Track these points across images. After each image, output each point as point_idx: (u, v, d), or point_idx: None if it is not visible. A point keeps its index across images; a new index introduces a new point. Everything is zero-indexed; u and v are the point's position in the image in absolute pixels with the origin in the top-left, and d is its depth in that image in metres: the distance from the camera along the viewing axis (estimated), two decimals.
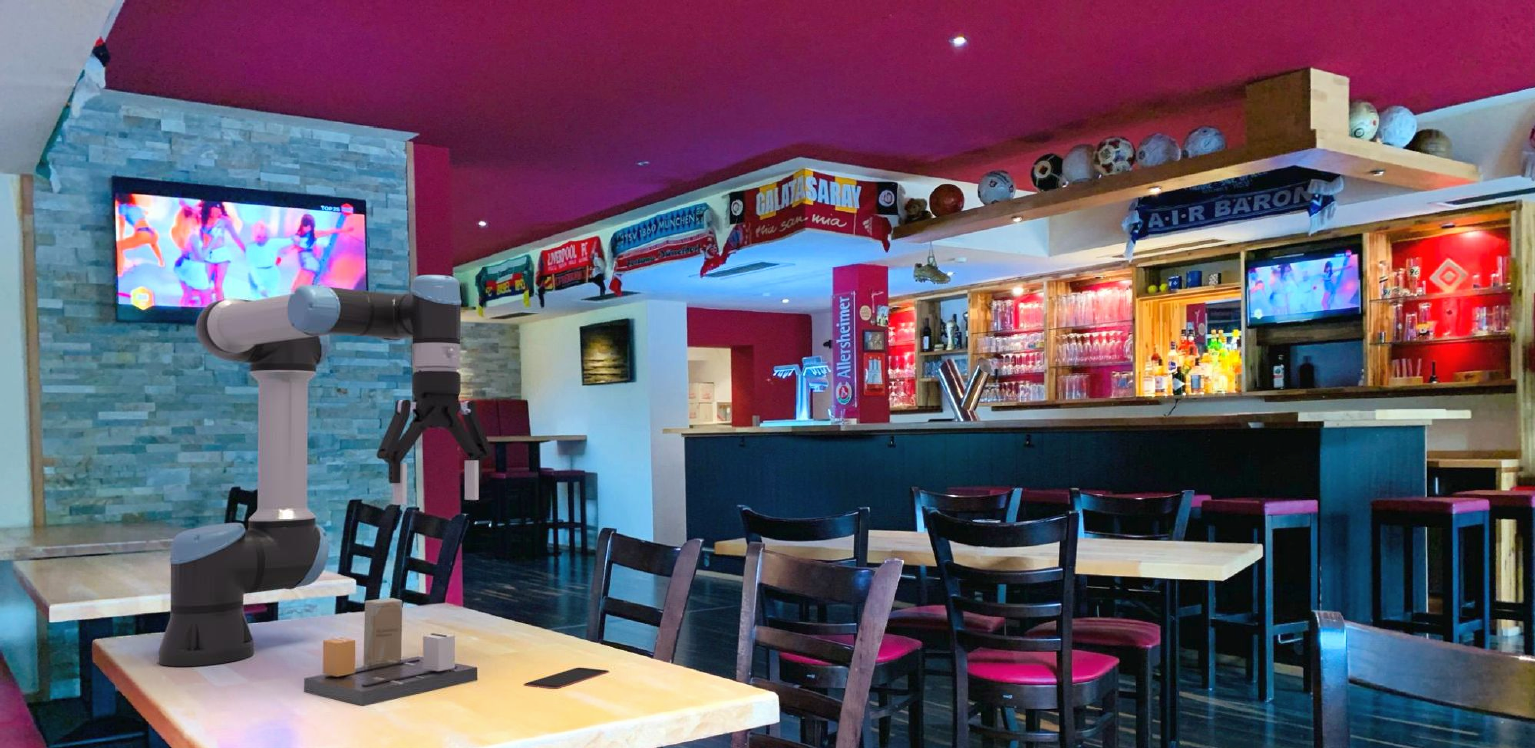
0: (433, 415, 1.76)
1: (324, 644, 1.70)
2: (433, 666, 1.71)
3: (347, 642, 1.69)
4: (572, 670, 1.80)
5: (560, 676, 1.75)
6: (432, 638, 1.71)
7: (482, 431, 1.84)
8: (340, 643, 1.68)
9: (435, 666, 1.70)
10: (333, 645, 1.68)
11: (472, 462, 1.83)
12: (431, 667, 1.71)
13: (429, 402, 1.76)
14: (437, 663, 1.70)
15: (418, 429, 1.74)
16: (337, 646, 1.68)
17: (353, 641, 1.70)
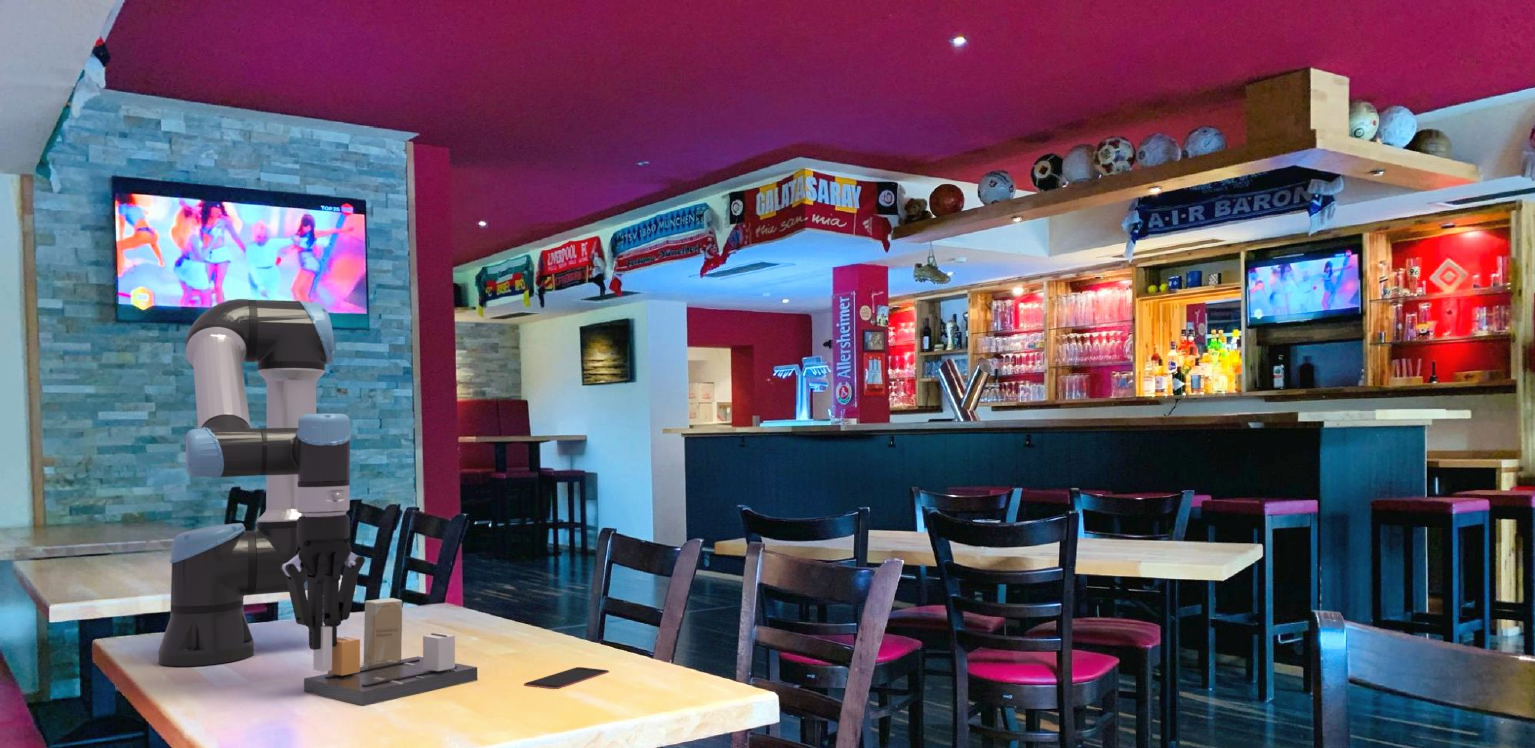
0: (322, 564, 1.66)
1: None
2: (433, 666, 1.71)
3: (352, 641, 1.69)
4: (572, 670, 1.80)
5: (560, 676, 1.75)
6: (432, 638, 1.71)
7: (352, 591, 1.71)
8: (345, 642, 1.69)
9: (435, 666, 1.70)
10: (338, 644, 1.69)
11: None
12: (431, 667, 1.71)
13: (310, 547, 1.66)
14: (437, 663, 1.70)
15: (317, 586, 1.66)
16: (342, 645, 1.68)
17: (358, 640, 1.70)
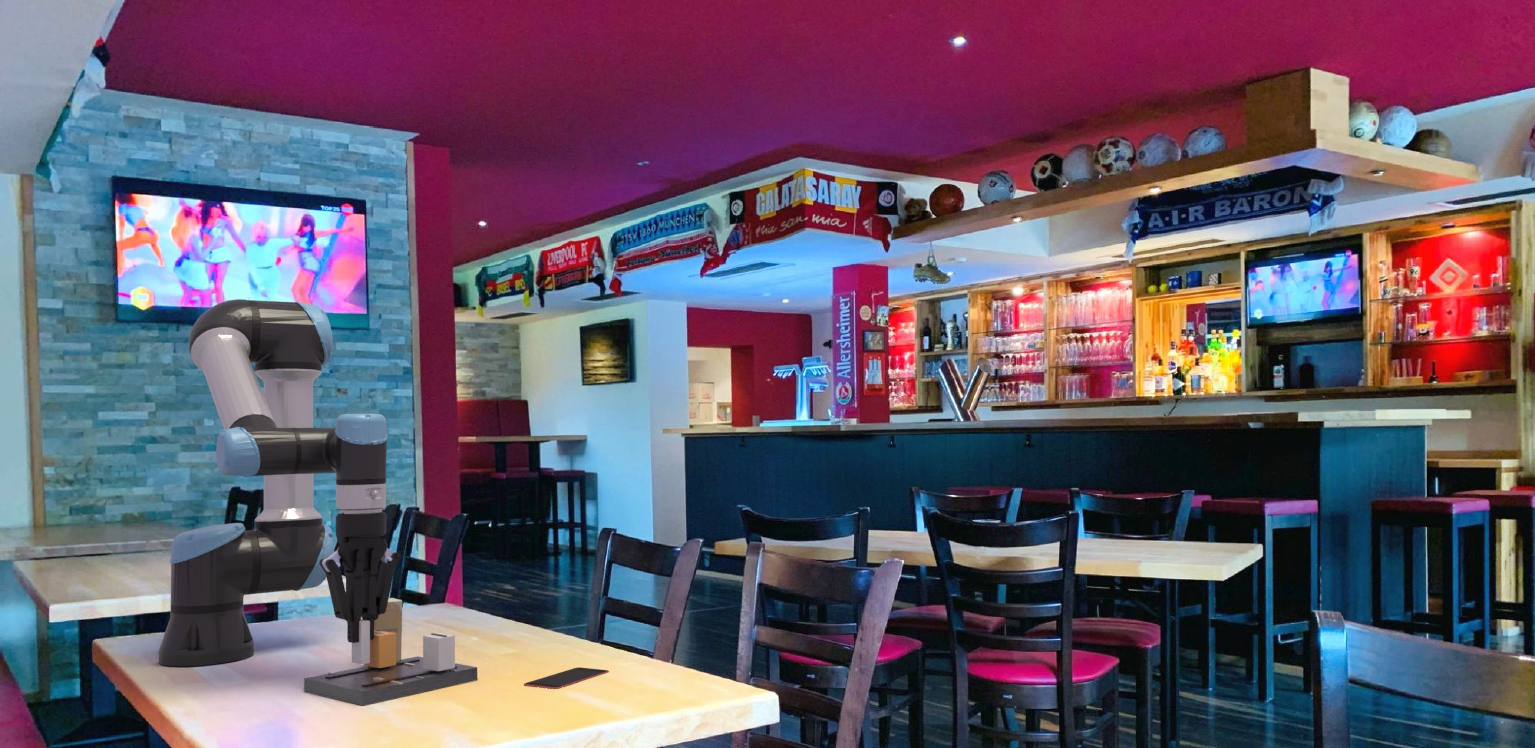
0: (360, 560, 1.71)
1: None
2: (433, 666, 1.71)
3: (388, 635, 1.74)
4: (572, 670, 1.80)
5: (560, 676, 1.75)
6: (432, 638, 1.71)
7: (389, 586, 1.76)
8: (382, 636, 1.74)
9: (435, 666, 1.70)
10: (375, 638, 1.74)
11: None
12: (431, 667, 1.71)
13: (349, 543, 1.71)
14: (437, 663, 1.70)
15: (356, 581, 1.71)
16: (379, 639, 1.73)
17: (394, 634, 1.75)
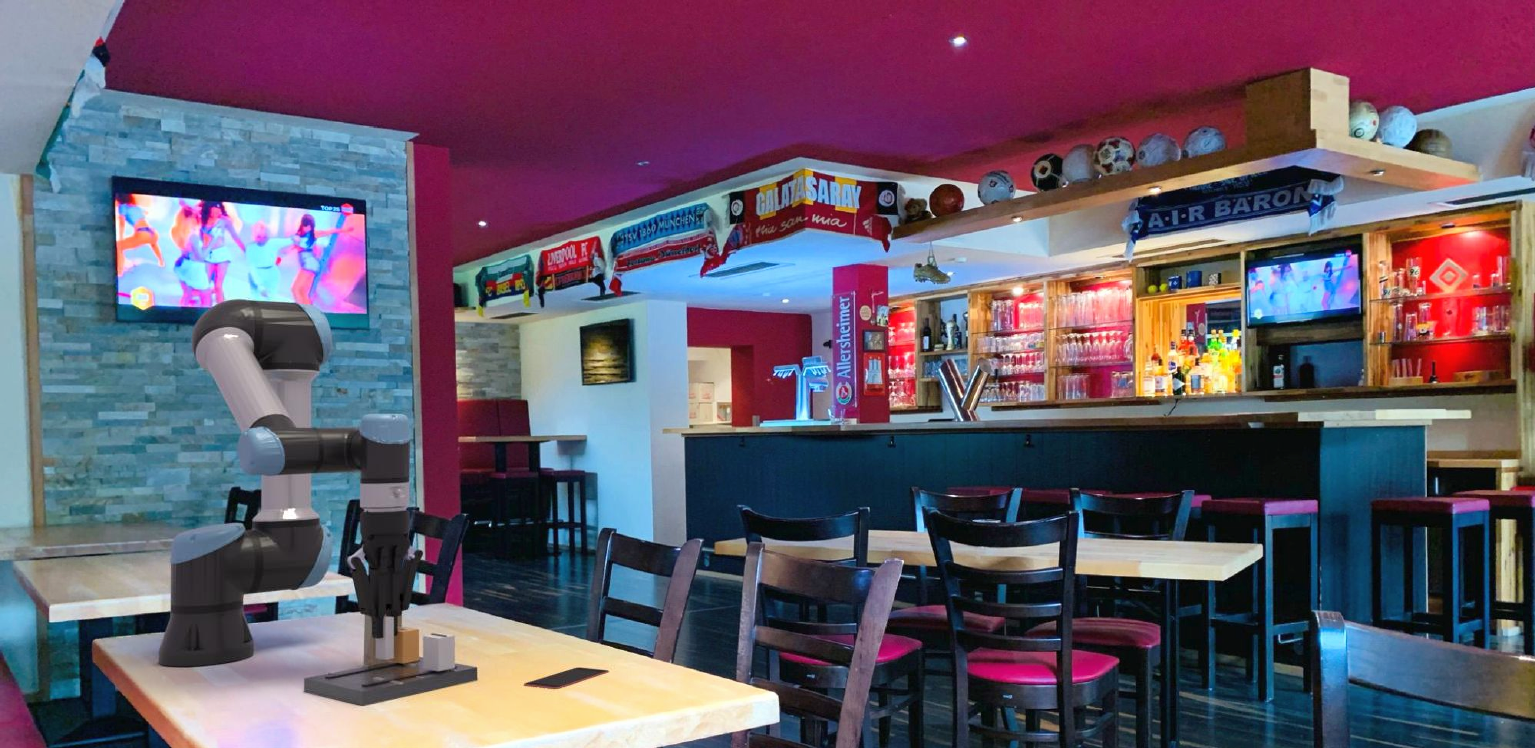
0: (384, 557, 1.75)
1: None
2: (433, 666, 1.71)
3: (411, 631, 1.78)
4: (572, 670, 1.80)
5: (560, 676, 1.75)
6: (432, 638, 1.71)
7: (412, 583, 1.79)
8: (405, 632, 1.77)
9: (435, 666, 1.70)
10: (398, 634, 1.77)
11: None
12: (431, 667, 1.71)
13: (373, 540, 1.74)
14: (437, 663, 1.70)
15: (380, 578, 1.75)
16: (402, 635, 1.76)
17: (417, 630, 1.79)
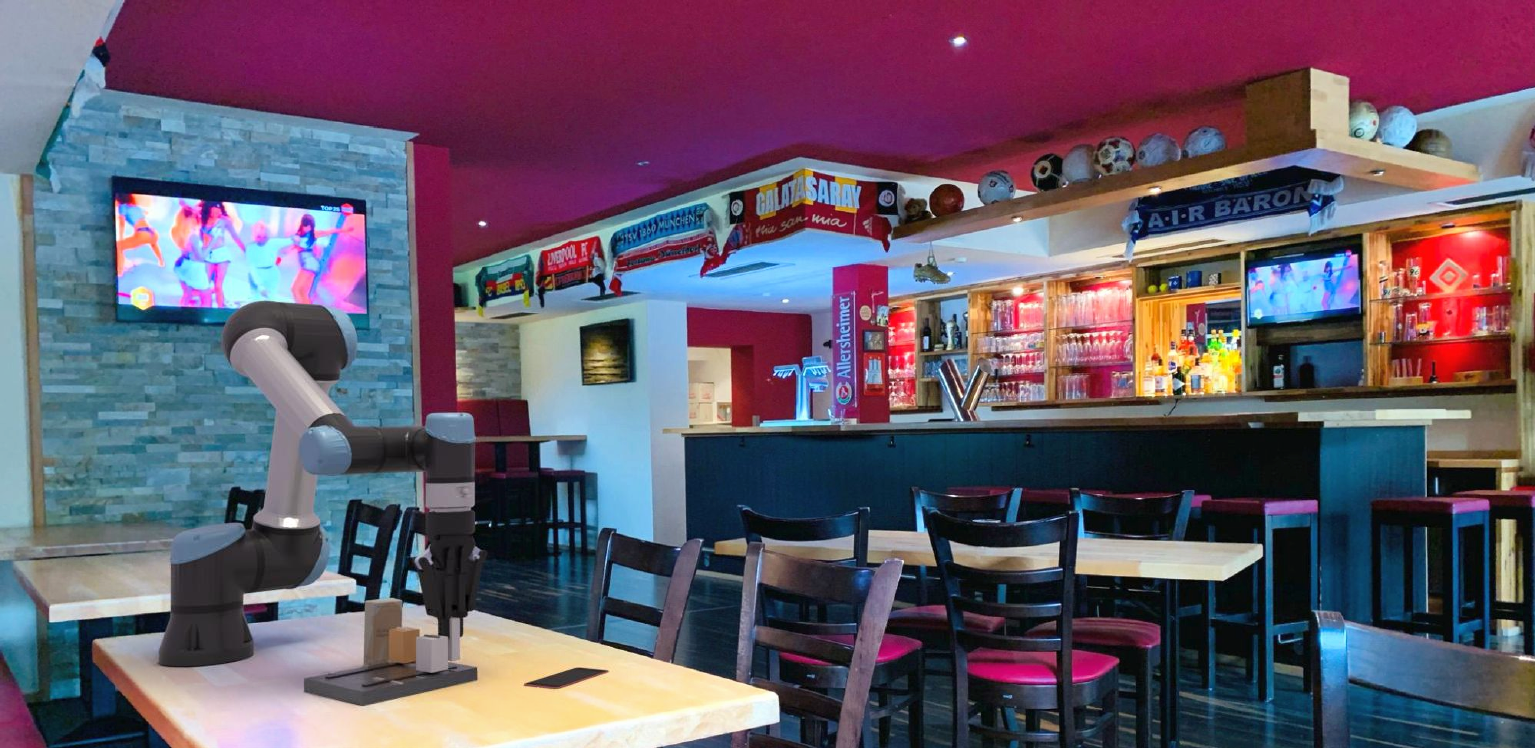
0: (451, 558, 1.73)
1: (390, 633, 1.79)
2: (425, 667, 1.70)
3: (412, 631, 1.78)
4: (571, 670, 1.80)
5: (560, 676, 1.75)
6: (425, 639, 1.70)
7: (477, 584, 1.77)
8: (406, 632, 1.77)
9: (428, 667, 1.69)
10: (399, 634, 1.77)
11: None
12: (424, 668, 1.70)
13: (440, 541, 1.72)
14: (429, 665, 1.69)
15: (447, 578, 1.73)
16: (403, 634, 1.77)
17: (417, 630, 1.79)
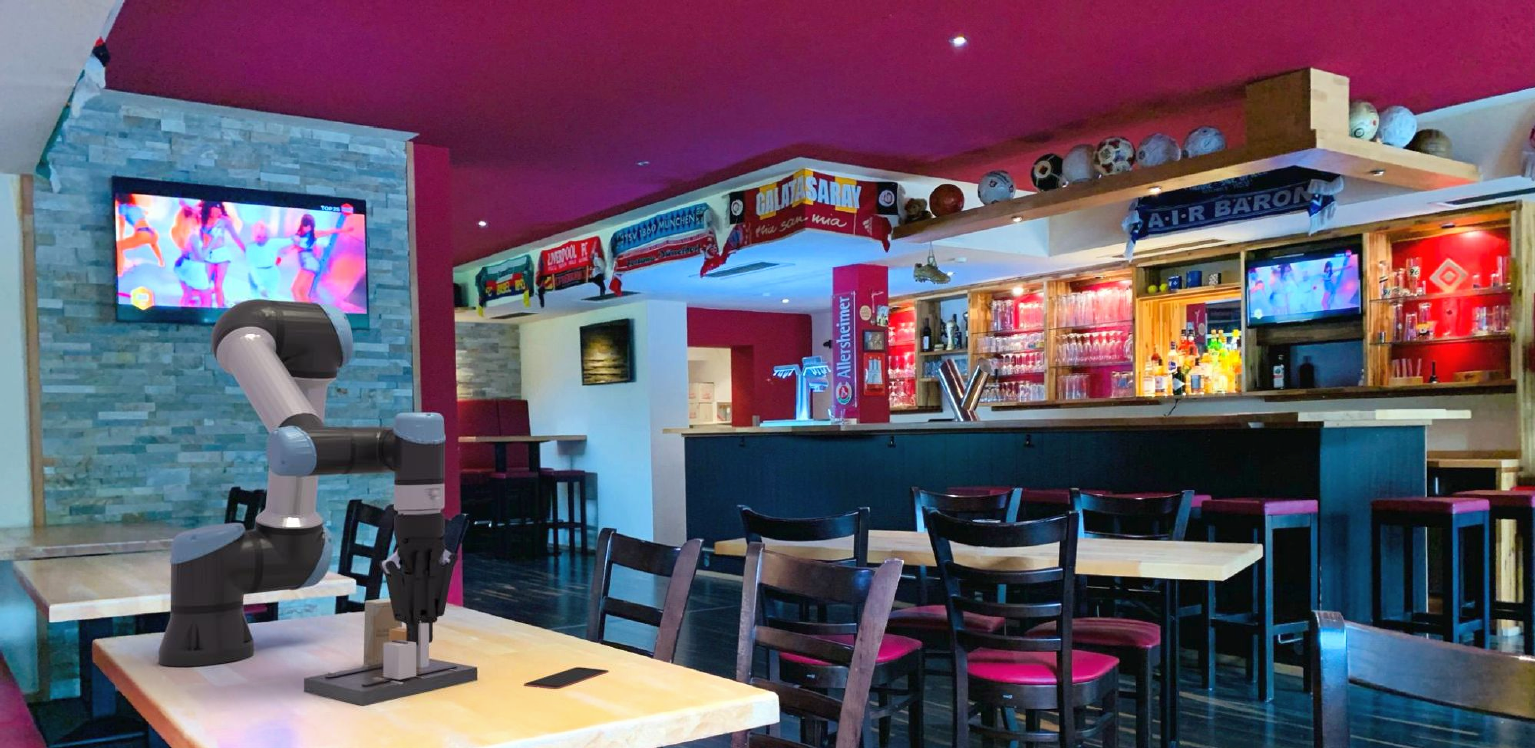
0: (420, 561, 1.68)
1: (390, 633, 1.79)
2: (393, 674, 1.65)
3: None
4: (571, 670, 1.80)
5: (560, 676, 1.75)
6: (392, 645, 1.65)
7: (447, 588, 1.73)
8: None
9: (395, 674, 1.65)
10: (399, 634, 1.77)
11: None
12: (391, 675, 1.65)
13: (408, 544, 1.68)
14: (397, 671, 1.65)
15: (415, 583, 1.68)
16: (403, 634, 1.77)
17: None
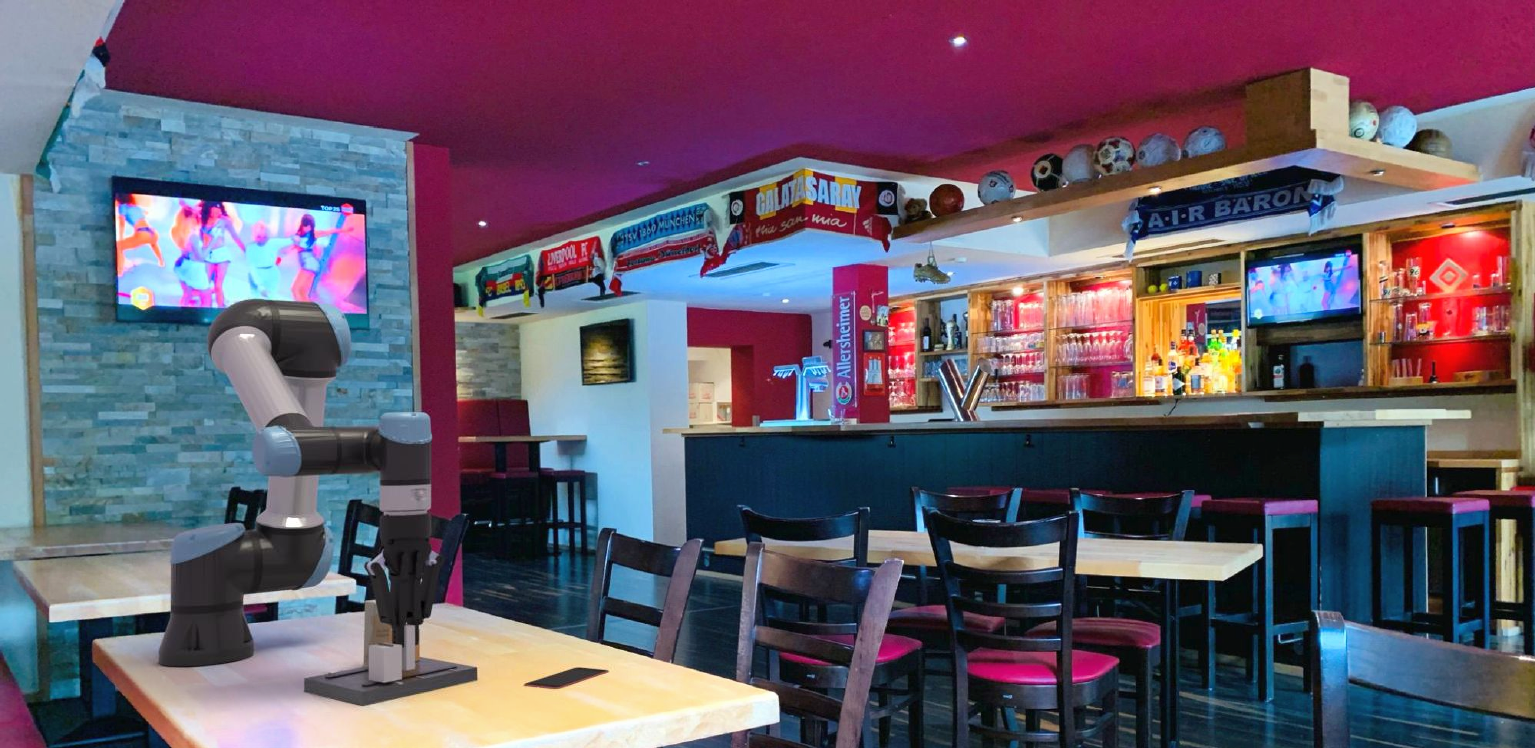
0: (405, 563, 1.66)
1: (390, 633, 1.79)
2: (378, 677, 1.63)
3: None
4: (571, 670, 1.80)
5: (560, 676, 1.75)
6: (378, 648, 1.64)
7: (434, 590, 1.71)
8: None
9: (381, 677, 1.63)
10: None
11: None
12: (376, 678, 1.63)
13: (394, 545, 1.66)
14: (382, 674, 1.63)
15: (401, 584, 1.66)
16: None
17: None
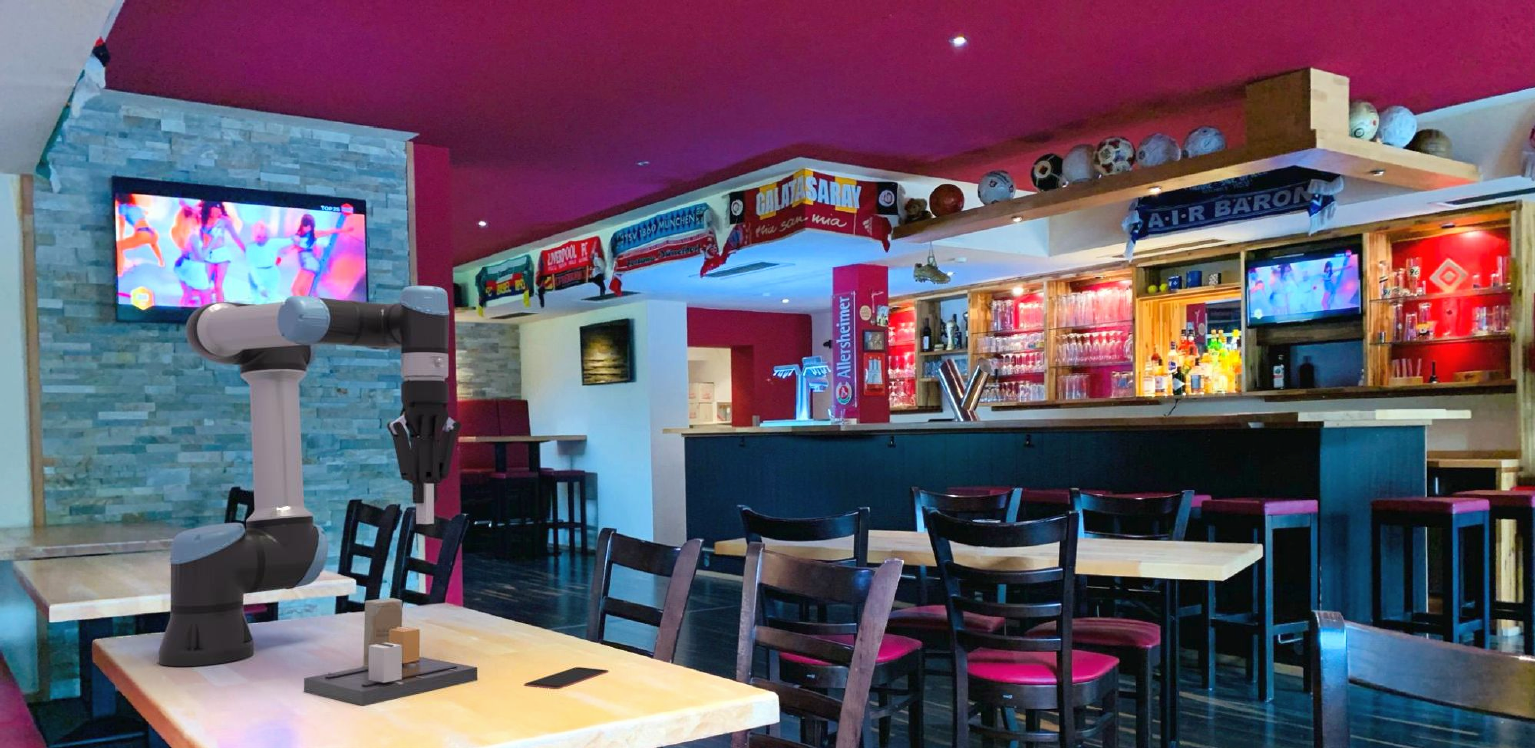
0: (425, 425, 1.80)
1: (390, 633, 1.79)
2: (378, 677, 1.63)
3: (412, 631, 1.78)
4: (571, 670, 1.80)
5: (560, 676, 1.75)
6: (377, 648, 1.64)
7: (451, 453, 1.84)
8: (406, 632, 1.77)
9: (381, 677, 1.63)
10: (399, 634, 1.77)
11: None
12: (376, 678, 1.63)
13: (414, 408, 1.79)
14: (382, 674, 1.63)
15: (421, 444, 1.79)
16: (403, 634, 1.77)
17: (417, 630, 1.79)
